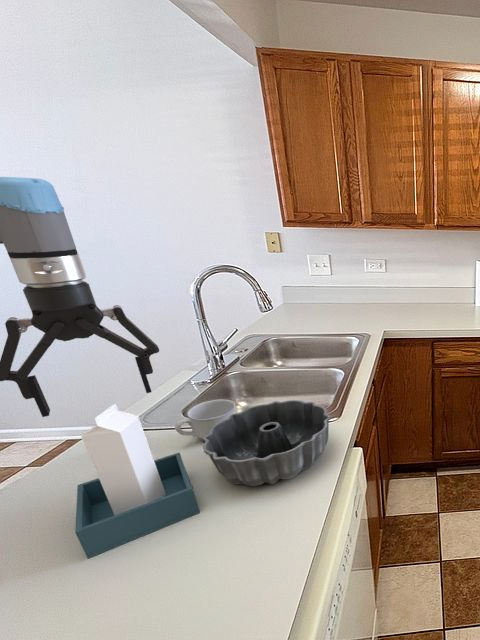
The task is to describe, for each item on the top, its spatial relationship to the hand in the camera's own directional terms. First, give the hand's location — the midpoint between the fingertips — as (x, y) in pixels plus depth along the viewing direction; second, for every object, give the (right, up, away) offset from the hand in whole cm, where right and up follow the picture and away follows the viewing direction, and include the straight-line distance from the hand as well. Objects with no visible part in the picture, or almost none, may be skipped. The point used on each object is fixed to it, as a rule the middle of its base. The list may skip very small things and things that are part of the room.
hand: (100, 401), depth 71 cm
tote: (0, -23, +9) cm, 25 cm away
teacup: (-4, -13, +35) cm, 38 cm away
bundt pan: (+19, -17, +24) cm, 36 cm away
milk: (0, -22, +9) cm, 24 cm away
